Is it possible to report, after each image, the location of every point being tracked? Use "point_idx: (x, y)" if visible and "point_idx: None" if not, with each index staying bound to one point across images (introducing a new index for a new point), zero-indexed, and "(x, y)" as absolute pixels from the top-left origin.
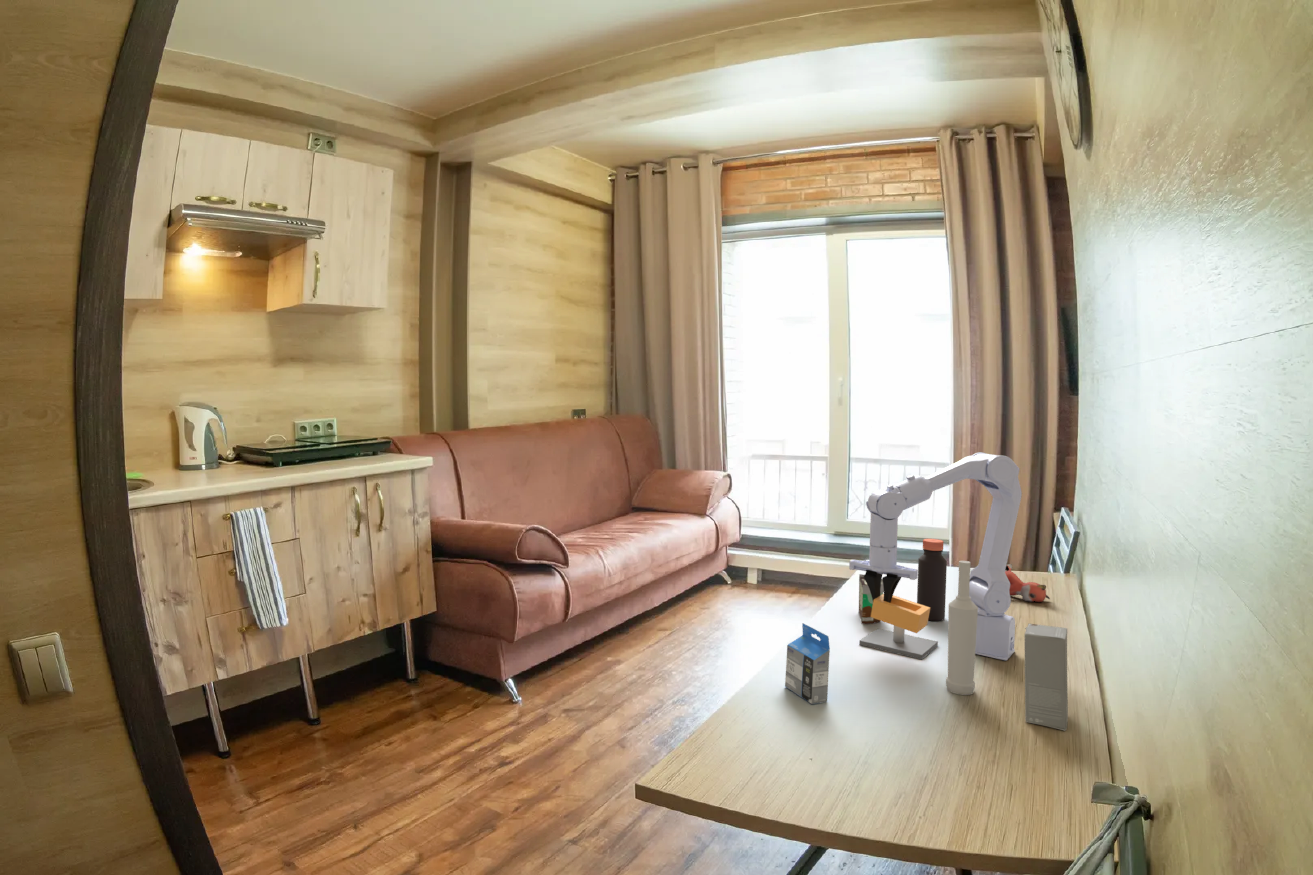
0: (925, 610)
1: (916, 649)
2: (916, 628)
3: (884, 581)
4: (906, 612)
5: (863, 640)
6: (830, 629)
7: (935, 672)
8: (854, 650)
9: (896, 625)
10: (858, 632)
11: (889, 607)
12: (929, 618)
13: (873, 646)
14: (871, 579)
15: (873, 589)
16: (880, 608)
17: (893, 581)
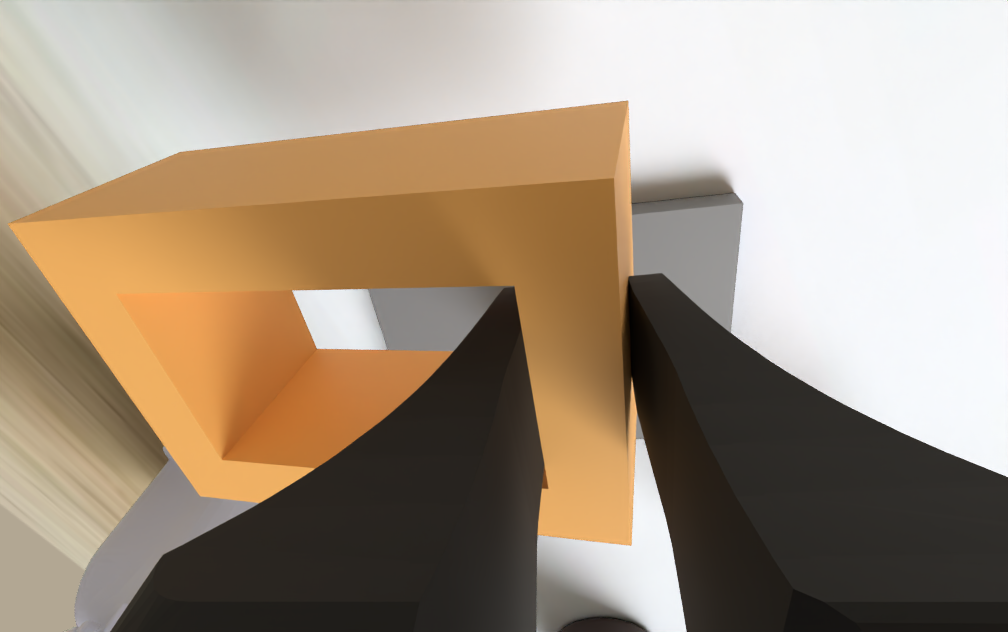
0: (142, 405)
1: (419, 296)
2: (152, 164)
3: (381, 557)
4: (154, 205)
5: (719, 219)
6: (986, 307)
7: (193, 100)
8: (725, 65)
9: (340, 134)
10: (806, 365)
11: (360, 184)
12: (591, 625)
13: (641, 207)
14: (855, 545)
15: (714, 390)
16: (496, 153)
17: (121, 615)
